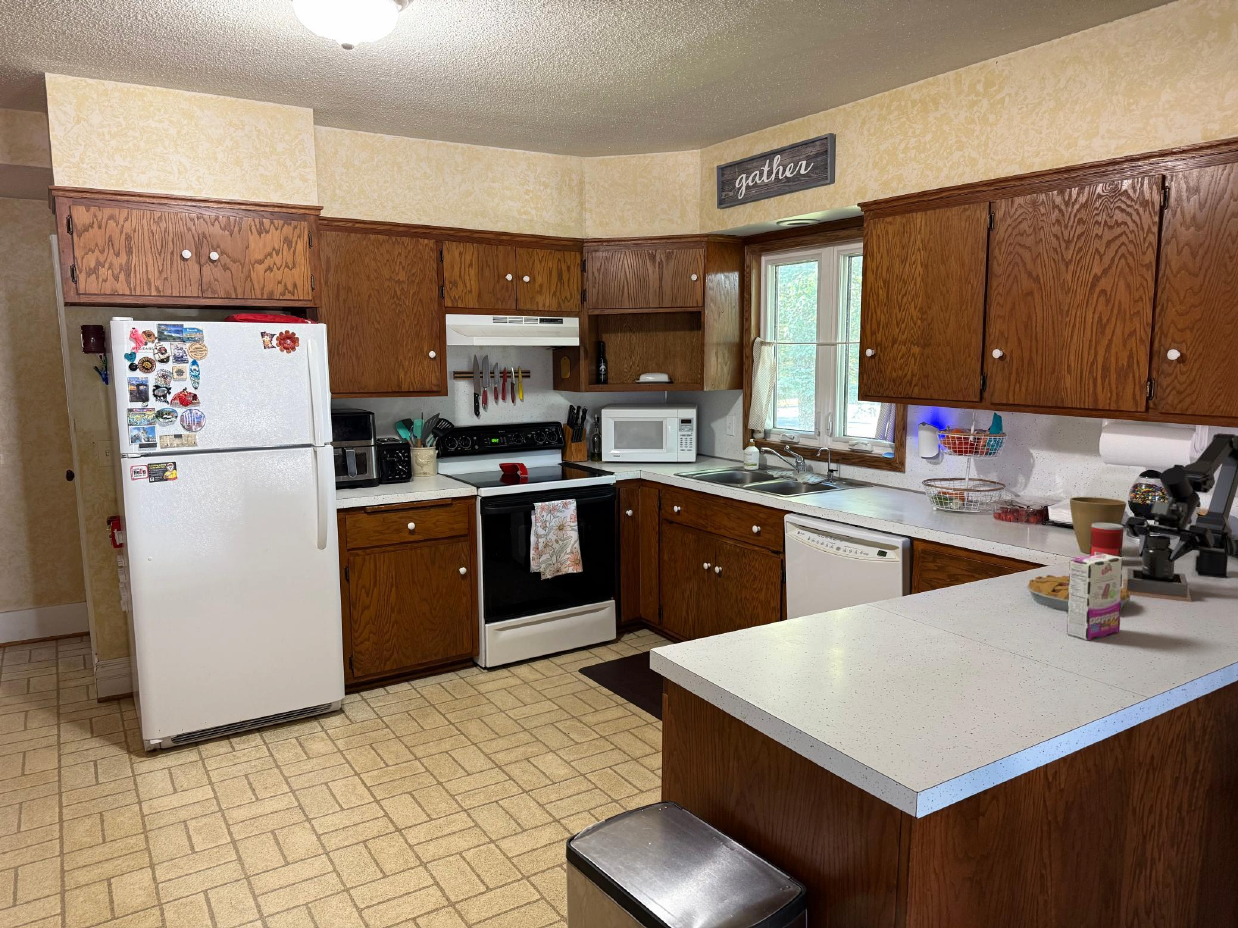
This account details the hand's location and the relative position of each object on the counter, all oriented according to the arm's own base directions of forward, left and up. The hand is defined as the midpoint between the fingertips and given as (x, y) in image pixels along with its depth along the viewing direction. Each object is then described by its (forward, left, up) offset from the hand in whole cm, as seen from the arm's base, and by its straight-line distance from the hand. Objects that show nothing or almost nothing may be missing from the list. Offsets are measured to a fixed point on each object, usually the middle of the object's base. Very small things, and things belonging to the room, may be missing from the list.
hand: (1155, 558), depth 211 cm
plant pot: (+14, -44, -9) cm, 47 cm away
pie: (+16, +20, -9) cm, 27 cm away
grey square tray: (-1, -1, -9) cm, 9 cm away
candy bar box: (+12, +45, -9) cm, 47 cm away
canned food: (+11, -30, -9) cm, 33 cm away
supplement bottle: (-1, -1, -7) cm, 7 cm away
